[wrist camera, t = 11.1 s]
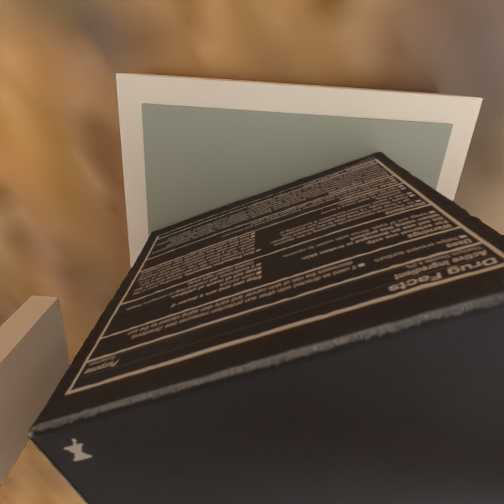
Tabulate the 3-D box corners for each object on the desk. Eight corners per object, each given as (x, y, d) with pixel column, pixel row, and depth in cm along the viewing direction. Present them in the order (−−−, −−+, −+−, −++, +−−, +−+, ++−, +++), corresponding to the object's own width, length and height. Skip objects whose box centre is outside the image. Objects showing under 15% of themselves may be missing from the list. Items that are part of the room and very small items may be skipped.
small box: (204, 344, 20) (151, 602, 10) (145, 230, 17) (0, 429, 8) (416, 281, 18) (595, 520, 8) (385, 145, 15) (589, 262, 6)
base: (156, 320, 24) (136, 368, 20) (144, 73, 18) (112, 73, 14) (380, 334, 24) (403, 384, 20) (439, 93, 18) (487, 98, 15)
